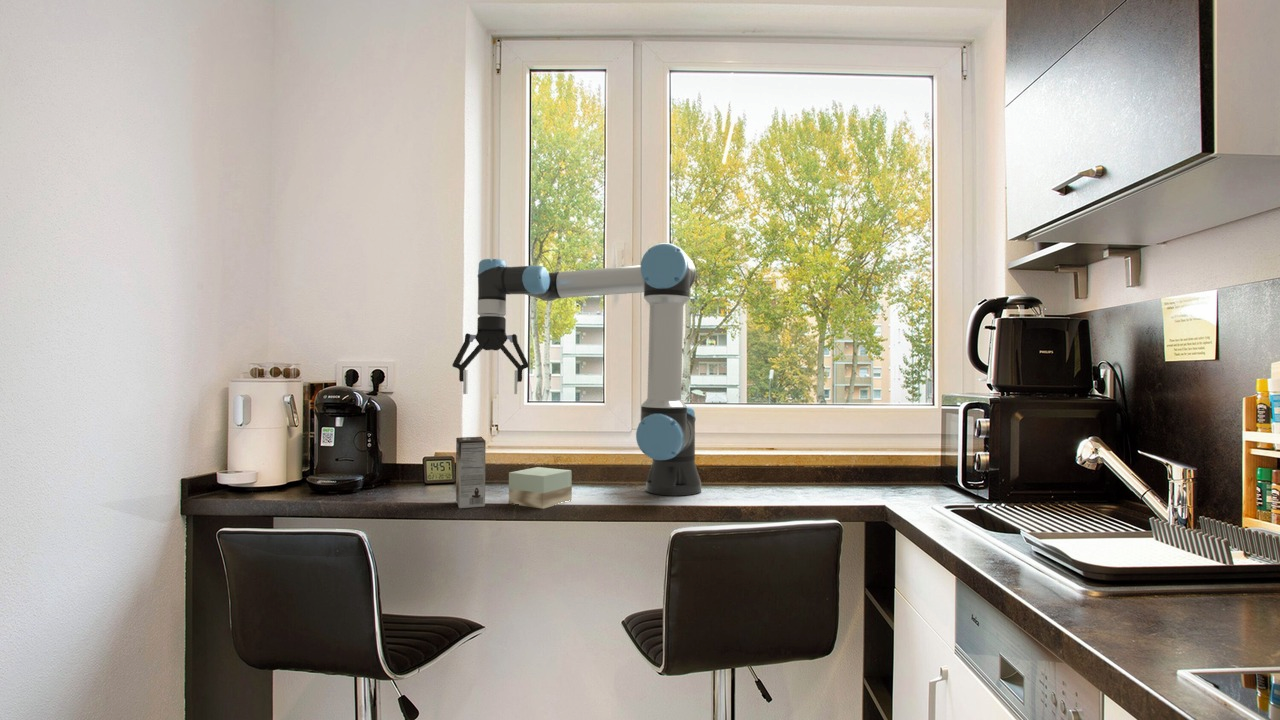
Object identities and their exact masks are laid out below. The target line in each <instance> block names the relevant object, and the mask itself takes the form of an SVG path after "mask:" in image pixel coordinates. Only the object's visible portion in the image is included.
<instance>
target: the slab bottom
mask: <svg viewBox="0 0 1280 720" xmlns="http://www.w3.org/2000/svg"><path fill="white" fill-rule="evenodd" d="M572 488H573V486H570V487H566V488H562V489H558V490H554V491H550V492H546V493H538V492H530V491H522V490H514V489H509V488H508V504H509V503H514V504H513V505H515V504H519V505H518V506H523V507H529V508H536V509H547V508H550V507H554V505H555V504H558V503H561V502H565V501H569V500H573V498H572V497H573V496H572V495H573V494H572V492H573V490H572ZM569 502H570V501H569ZM558 505H559V504H558ZM555 506H556V505H555Z"/></svg>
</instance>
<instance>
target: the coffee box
mask: <svg viewBox="0 0 1280 720" xmlns="http://www.w3.org/2000/svg"><path fill="white" fill-rule="evenodd" d="M455 441H456V447H455V448H456V449H455V453H456V456H455V502H456V501H457V502H456V504H457V505H458V507H457V508H458V509H468V508H479V507H480V508H483V507H486V454H487V453H486V451H487V450H486V449H487V447H486V445H487V443H486V440H485V439H484V437H483V436H466V437H465V436H464V437H456V438H455Z"/></svg>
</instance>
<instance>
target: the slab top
mask: <svg viewBox="0 0 1280 720" xmlns="http://www.w3.org/2000/svg"><path fill="white" fill-rule="evenodd" d="M572 475H573V474H572V470H571V469H563V468H562V469H560V468H552V467H551V468H550V467H543V466H542V467H541V466H536V467H531V468H525V469H520V470H516V471H511V472H508V490H509V489H514V490H522V491H530V492H538V493H546V492H550V491H554V490H558V489H562V488H566V487H570V486H572V483H573V482H572V478H573V477H572ZM572 487H573V486H572Z"/></svg>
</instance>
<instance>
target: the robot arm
mask: <svg viewBox="0 0 1280 720" xmlns="http://www.w3.org/2000/svg"><path fill="white" fill-rule="evenodd" d="M693 262H694V261H693V260H692V259H691V258H690V257H689V256H688V255H687V254H686V252H685V251H684V250H683V249H682V247H679V246H677V245H675V244H673V243H668V242H667V243H666V242H664V243H663V242H662V243H658V244H654V245H653V246H651V247H650V248H648V250H646V251H645V253H644V254H643V256H642V258H641V261H640V265H629V266H628V265H627V266H616V267H605V268H603V267H602V268H593V269H581V270H567V271H559V272H558V271H557V272H556V271H555V272H549V271H548V270H547V268H546V267H545V266H542V265H534V264H533V265H523V266H522V265H520V266H507V262H506V261H505V260H504V259H499V258H485V259H482V260H480V261H479V263H478V269H477V270H478V271H477V293H478V294H477V296H478V297H477V315H478V317H477V328H476V329H477V331H476V334H471V333H465V336H464V341H463V342H462V345H461V347H460V349H459V352H458V353H457V354H456V355H457V356H456V357H455V359H454V361H453V362H452V367H453V368H456V369H458V370H459V373H458V374H459V375H458V376H459V378H458V379H459V382H462V388H463V389H462V394H463V395H468V391H469V390H468V389H469V387H468V385H469V384H468V383H469V382H468V381H469V379H468V378H469V377H468V373H469V372H468V371H469V370H468V369H466V368H467V367H468V366H469V365H470V364H471V363H472V361H473V360H475V358H476V357H477V355H479V354H480V352H482V350H484V351H492V350H493V351H499V350H501V351H502V352H503V354H505V356H506V357H507V358H508V360H509V361H510V362H511V363H512V364H513V365H514V366H515V368H516V370H514V381H513V383H514V385H513V386H514V390H513V391H514V392H513V393H514V395H518V394H519V383H521V382H522V381H523V370H525V369H528V368H529V366H530V364H529V362H528V360H527V358H526V357H525V354H524V353H523V352H524V351H523V350H522V348H521V346H520V344H519V342H518V335H517V334H515V333H513V334H508V335H507V333H506V332H507V331H506V324H507V323H506V321H507V320H506V317H504V316H506V313H507V306H506V305H507V295H527V296H529V297H532V298H536V299H538V300H539V299H540V300H541V301H546V302H551V301H553V302H554V301H555V300H557V299H565V298H566V299H567V298H582V297H594V296H595V297H596V296H598V297H599V296H609V295H611V296H612V295H626V294H638V293H639V294H640V293H643V299H644V300H645V301H646V302H647V303H648V305H649V319H648V320H649V323H648V325H649V326H648V355H647V356H648V361H647V366H648V367H647V398H646V400H645V401H644V402H643V403H642V404H641V405H640V406H641V407H640V409H641V410H640V422H639V423H638V426H637V428H636V432H635V439H636V443H637V446H638V448H639V450H640V451H641V452H642V453H643V454H644V455H645V456H646V457H647V458H649V459H651V460H652V463H651V467H650V469H649V472H648V476H647V477H646V480H645V481H646V482H645V490H646V492H648V493H650V494H654V495H659V496H660V495H662V496H689V495H695V494H699V493H701V492H702V482H701V478H700V475H699V471H698V468H697V464H696V419H697V418H696V415H695V413H696V412H695V409H694V408H693V407H691V406H687V404H685V402H684V401H683V400H682V381H683V380H682V376H683V373H682V371H683V370H682V369H683V339H684V337H683V335H684V333H683V332H684V331H683V330H684V306H685V304H686V303H687V302H688V301H689V300H690V294H691V293H690V291H691V289H690V288H691V287H692V286H693V284H694V283H695V279H696V275H697V273H696V272H697V271H696V267H695V264H694V263H693ZM474 340H476V341H477V343H478V345H477V346H476V347H475V348H474V349H473V351H472V352H471V353H470V354H469V355H468V356H467V357H466V358H465V359H464V361H463V360H462V359H463V358H464V356H465V354H466V352H467V350H468V348H469V346H470V345H471V343H473V341H474ZM508 340H509V342H510V343H512V345H513V347H514V349H515V352H516V353H517V354H518V357H519V359H520V361H521V364H520V363H519V362H518V360H517V359H516V357H515V356H513V354H512V353H511V352H510V351H509V350H508V348H507V347H506V346H505V343H506V342H507V341H508ZM461 361H462V363H461Z"/></svg>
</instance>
